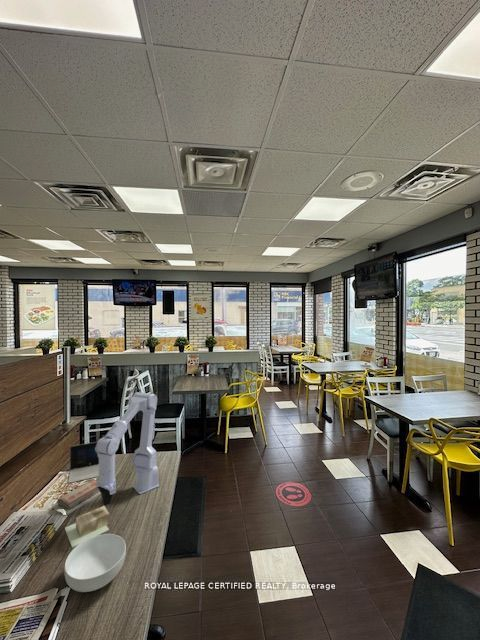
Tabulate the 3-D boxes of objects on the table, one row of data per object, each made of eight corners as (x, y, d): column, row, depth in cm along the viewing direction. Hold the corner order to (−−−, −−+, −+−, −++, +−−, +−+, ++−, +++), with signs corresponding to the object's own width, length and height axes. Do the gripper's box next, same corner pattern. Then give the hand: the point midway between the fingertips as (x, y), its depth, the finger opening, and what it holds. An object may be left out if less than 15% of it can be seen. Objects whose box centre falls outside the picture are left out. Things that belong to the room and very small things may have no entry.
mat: (99, 513, 113) (99, 512, 113) (109, 530, 105) (109, 529, 105) (64, 528, 105) (64, 527, 105) (72, 548, 96) (72, 547, 96)
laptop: (67, 484, 134) (68, 456, 134) (70, 471, 145) (70, 446, 145) (109, 475, 142) (109, 449, 142) (108, 463, 153) (108, 439, 153)
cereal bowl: (122, 595, 80) (122, 570, 80) (55, 612, 75) (55, 586, 75) (128, 548, 96) (128, 528, 96) (73, 560, 92) (73, 538, 92)
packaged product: (91, 476, 132) (105, 482, 128) (91, 486, 132) (105, 492, 128) (51, 497, 116) (65, 505, 112) (51, 509, 116) (65, 517, 112)
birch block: (104, 505, 112) (75, 517, 105) (109, 513, 107) (80, 526, 101) (104, 515, 112) (75, 528, 105) (109, 523, 107) (80, 537, 101)
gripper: (90, 465, 112) (90, 499, 112) (101, 481, 101) (101, 518, 102) (109, 459, 117) (109, 492, 117) (121, 473, 106) (121, 509, 106)
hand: (106, 503), depth 110 cm, fingers closed
